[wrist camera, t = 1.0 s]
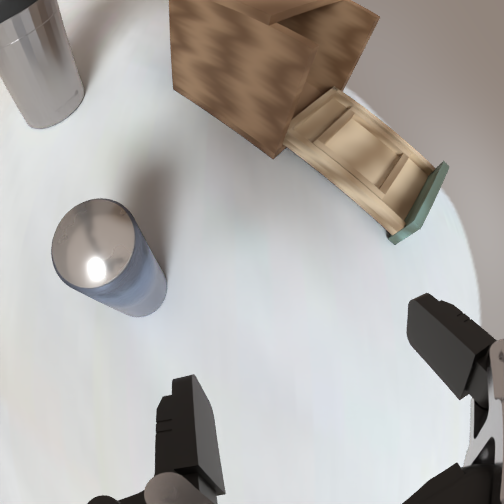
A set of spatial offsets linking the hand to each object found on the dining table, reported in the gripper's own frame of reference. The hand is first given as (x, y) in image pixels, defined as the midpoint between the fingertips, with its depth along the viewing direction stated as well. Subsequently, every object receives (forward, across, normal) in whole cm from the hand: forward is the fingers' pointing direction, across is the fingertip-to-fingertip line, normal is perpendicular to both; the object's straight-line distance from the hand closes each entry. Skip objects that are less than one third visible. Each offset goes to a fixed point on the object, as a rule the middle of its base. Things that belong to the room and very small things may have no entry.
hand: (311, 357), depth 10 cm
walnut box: (+32, -7, -11) cm, 35 cm away
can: (+17, +10, +3) cm, 21 cm away
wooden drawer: (+25, -16, 0) cm, 29 cm away
